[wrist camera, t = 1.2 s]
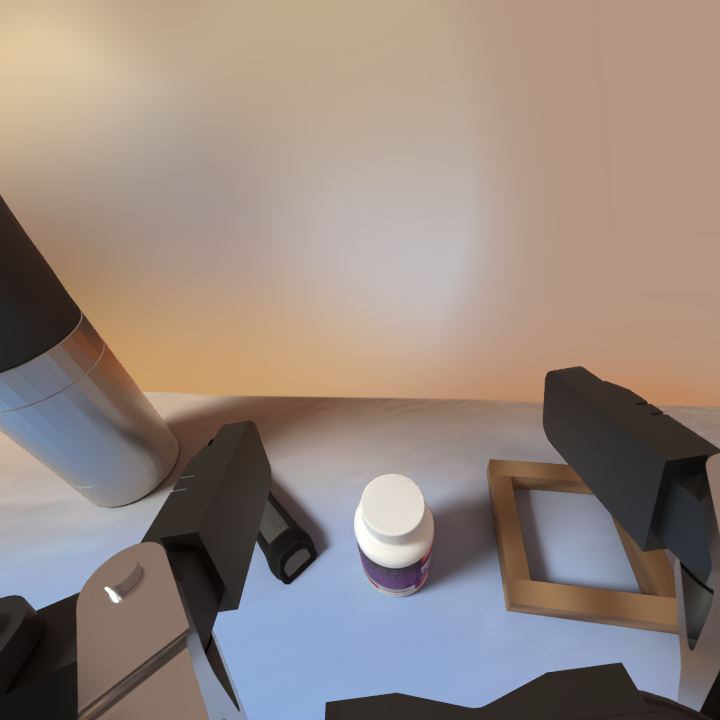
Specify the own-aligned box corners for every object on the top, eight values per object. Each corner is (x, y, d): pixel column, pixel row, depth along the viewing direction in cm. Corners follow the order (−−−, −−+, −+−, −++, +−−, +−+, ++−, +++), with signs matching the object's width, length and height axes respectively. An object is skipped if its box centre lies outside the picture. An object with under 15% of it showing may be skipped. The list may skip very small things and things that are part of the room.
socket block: (506, 610, 25) (511, 602, 23) (486, 471, 33) (490, 459, 31) (682, 634, 23) (699, 628, 22) (616, 480, 31) (625, 468, 30)
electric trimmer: (238, 444, 38) (228, 427, 36) (322, 555, 29) (315, 539, 27) (206, 466, 37) (193, 449, 34) (284, 591, 27) (273, 577, 25)
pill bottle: (435, 597, 26) (445, 546, 19) (363, 600, 26) (348, 552, 20) (424, 522, 30) (428, 460, 23) (361, 526, 30) (349, 466, 24)
